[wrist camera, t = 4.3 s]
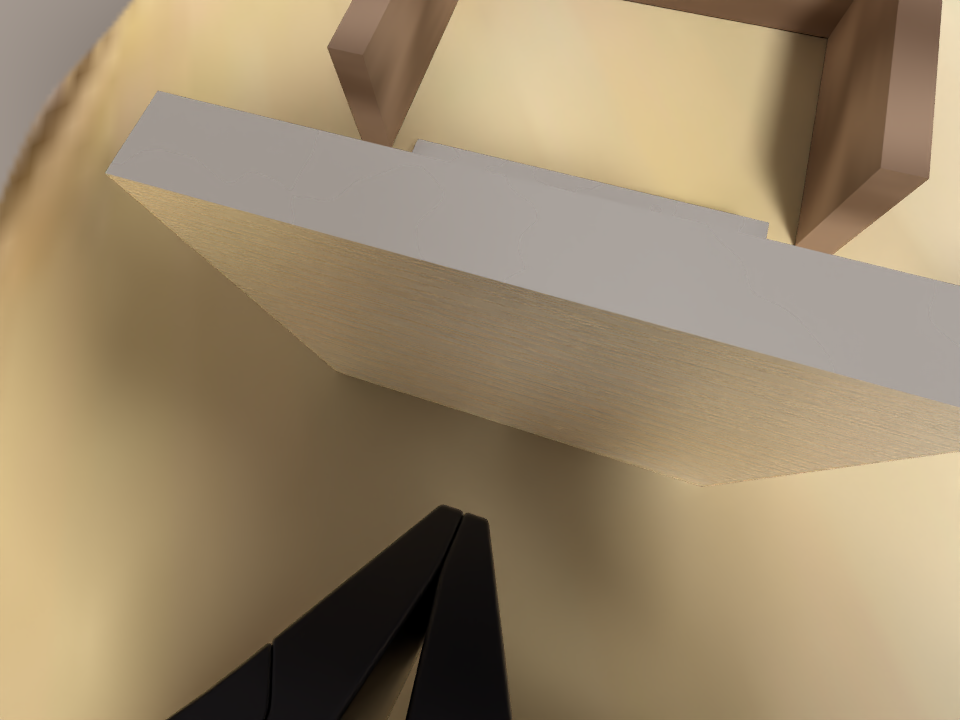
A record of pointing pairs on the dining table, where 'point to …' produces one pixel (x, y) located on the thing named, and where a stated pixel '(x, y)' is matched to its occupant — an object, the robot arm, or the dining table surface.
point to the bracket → (559, 298)
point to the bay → (772, 3)
